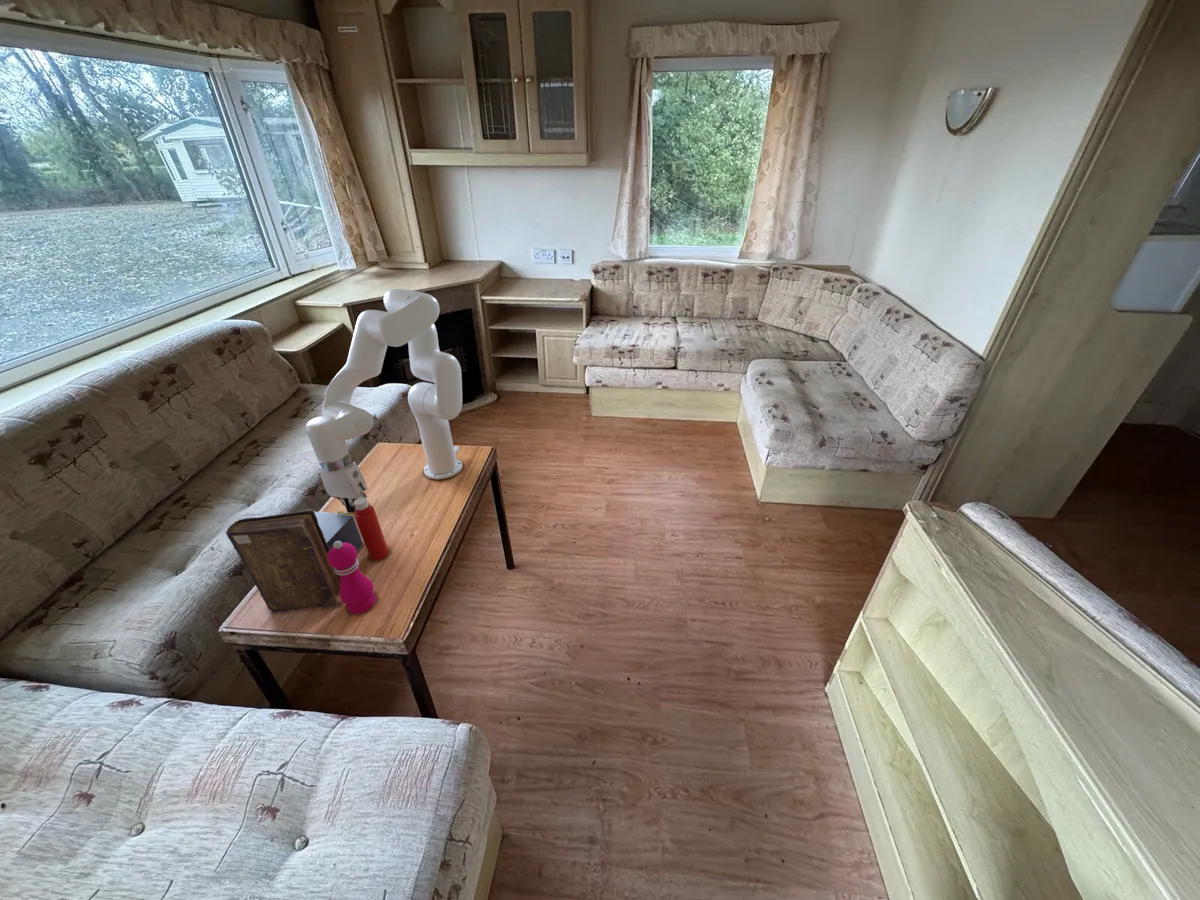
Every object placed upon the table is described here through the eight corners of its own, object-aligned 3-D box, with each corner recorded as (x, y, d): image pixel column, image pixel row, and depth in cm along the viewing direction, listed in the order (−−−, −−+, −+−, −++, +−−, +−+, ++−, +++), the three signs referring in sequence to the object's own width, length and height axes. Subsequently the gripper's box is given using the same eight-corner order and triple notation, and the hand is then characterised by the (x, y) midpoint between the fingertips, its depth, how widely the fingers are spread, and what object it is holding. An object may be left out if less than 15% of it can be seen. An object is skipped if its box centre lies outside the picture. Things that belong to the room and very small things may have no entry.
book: (265, 612, 114) (219, 533, 100) (280, 589, 120) (239, 511, 106) (337, 608, 114) (300, 529, 101) (348, 585, 120) (315, 508, 107)
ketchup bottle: (376, 546, 132) (357, 494, 122) (392, 549, 131) (374, 496, 122) (365, 559, 128) (345, 505, 118) (382, 561, 127) (363, 507, 118)
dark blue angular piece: (326, 539, 135) (314, 511, 130) (363, 544, 133) (352, 516, 128) (288, 577, 123) (273, 548, 118) (328, 583, 121) (315, 554, 116)
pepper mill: (366, 618, 112) (340, 555, 101) (338, 613, 113) (310, 551, 103) (384, 594, 118) (361, 532, 107) (357, 590, 119) (333, 529, 109)
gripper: (368, 455, 130) (386, 508, 139) (320, 450, 132) (340, 503, 142) (351, 471, 123) (371, 525, 133) (300, 466, 126) (323, 519, 136)
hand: (355, 513), depth 138 cm, fingers closed
